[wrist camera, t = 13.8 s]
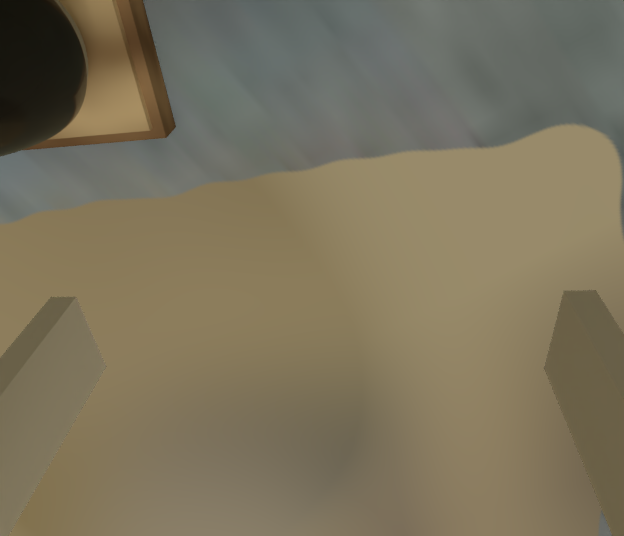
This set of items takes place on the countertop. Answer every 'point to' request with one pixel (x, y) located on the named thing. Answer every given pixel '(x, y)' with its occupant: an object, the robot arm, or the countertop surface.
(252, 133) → the countertop surface
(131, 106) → the stand
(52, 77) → the pump dispenser
